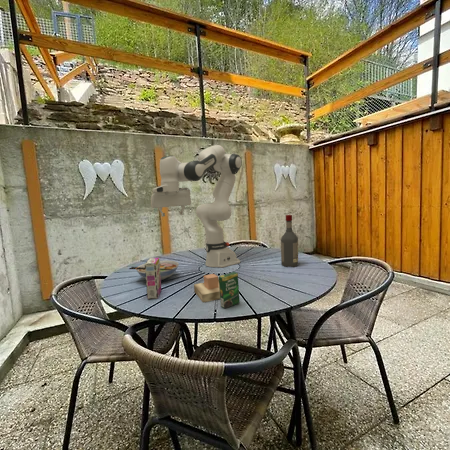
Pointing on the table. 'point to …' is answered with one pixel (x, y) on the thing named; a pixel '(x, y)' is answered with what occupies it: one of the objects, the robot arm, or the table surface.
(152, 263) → the candy bar box
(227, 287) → the coffee box
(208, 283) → the terracotta cube
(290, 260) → the liquor
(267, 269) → the table surface
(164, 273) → the ramen bowl
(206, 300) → the maple block
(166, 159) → the robot arm
